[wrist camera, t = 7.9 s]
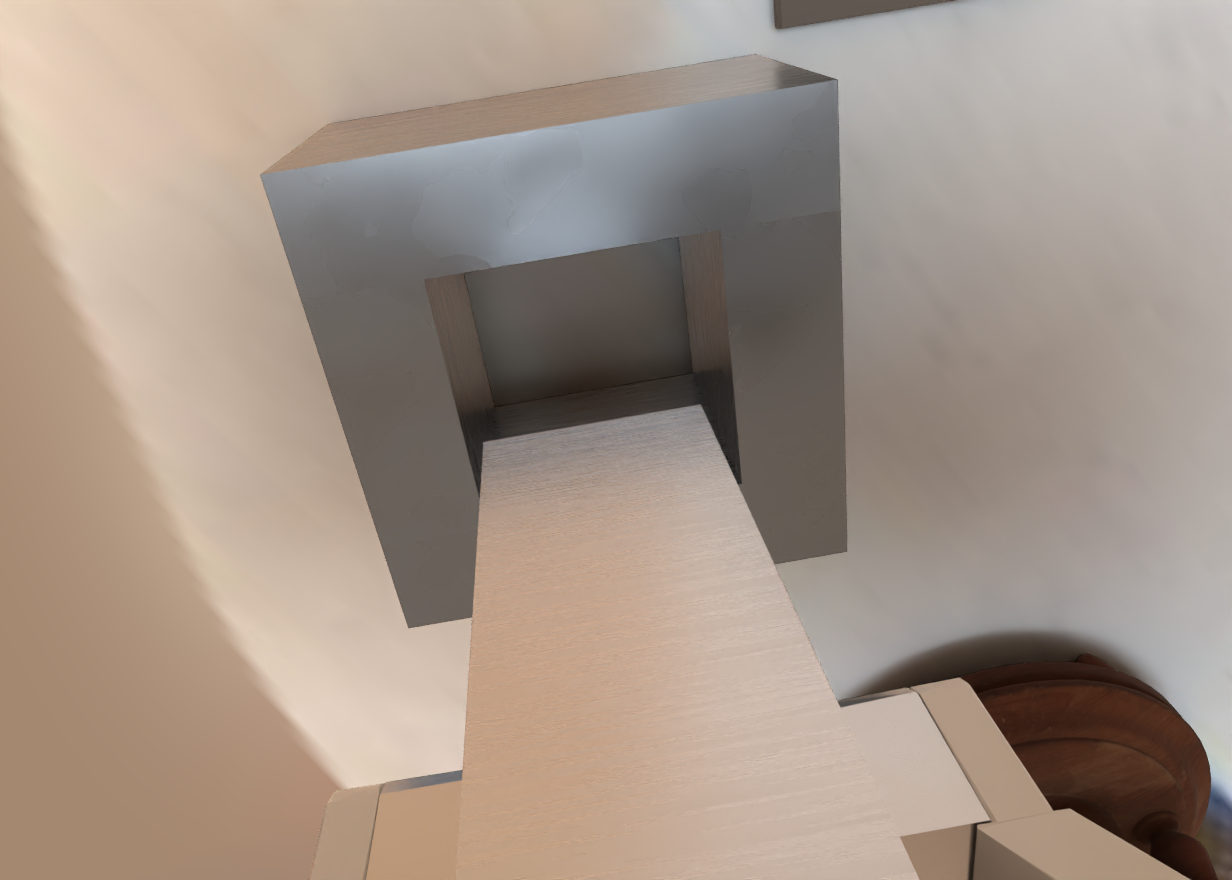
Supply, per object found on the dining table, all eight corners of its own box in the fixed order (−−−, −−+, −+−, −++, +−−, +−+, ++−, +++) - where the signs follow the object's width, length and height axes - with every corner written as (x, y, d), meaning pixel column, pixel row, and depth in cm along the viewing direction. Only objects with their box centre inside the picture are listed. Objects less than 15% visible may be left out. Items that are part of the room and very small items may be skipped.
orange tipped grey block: (701, 404, 13) (1126, 1330, 4) (719, 580, 14) (1060, 1544, 5) (483, 442, 13) (418, 1480, 4) (524, 615, 14) (546, 1653, 5)
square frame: (755, 54, 20) (837, 79, 15) (778, 431, 25) (846, 551, 20) (328, 124, 20) (260, 174, 15) (432, 490, 25) (408, 627, 20)
